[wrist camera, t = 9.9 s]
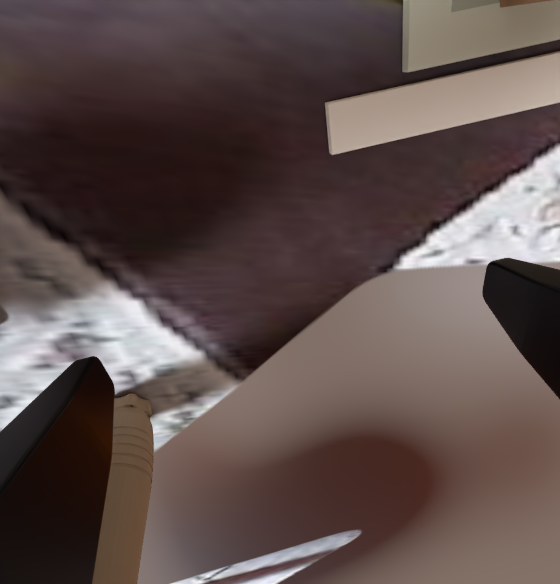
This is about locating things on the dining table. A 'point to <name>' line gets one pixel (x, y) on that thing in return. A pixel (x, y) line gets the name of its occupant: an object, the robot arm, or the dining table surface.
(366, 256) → the dining table surface
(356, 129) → the strip
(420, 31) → the pad
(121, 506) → the handle
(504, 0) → the block
